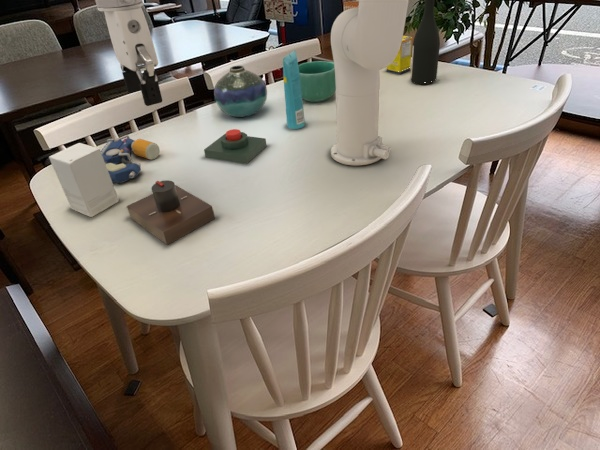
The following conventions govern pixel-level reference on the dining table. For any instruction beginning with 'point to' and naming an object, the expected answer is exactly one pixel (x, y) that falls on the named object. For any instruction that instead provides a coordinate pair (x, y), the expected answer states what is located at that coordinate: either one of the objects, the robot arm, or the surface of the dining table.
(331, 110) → the dining table surface
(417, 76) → the wine bottle
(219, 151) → the button block
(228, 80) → the vase
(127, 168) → the spray gun
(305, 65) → the mug
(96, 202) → the white packaging box
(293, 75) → the tube
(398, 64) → the supplement box
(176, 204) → the dial
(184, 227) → the panel
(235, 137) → the button
